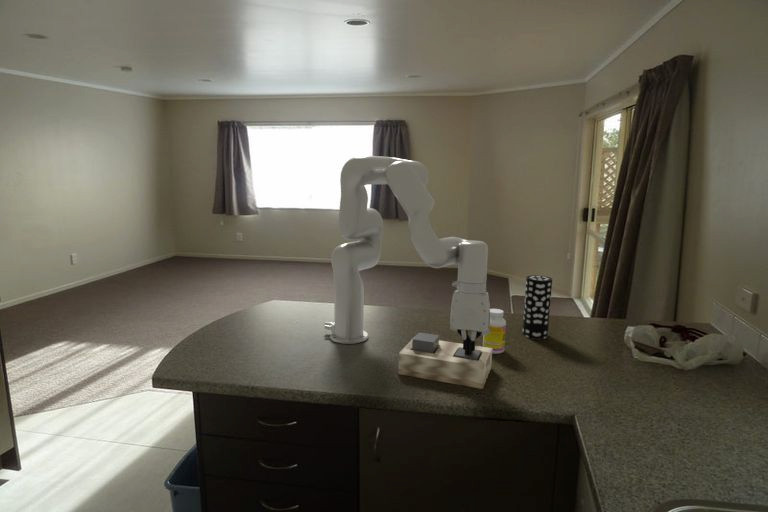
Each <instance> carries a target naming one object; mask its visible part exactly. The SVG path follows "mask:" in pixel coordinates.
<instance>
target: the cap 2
mask: <svg viewBox="0 0 768 512" xmlns="http://www.w3.org/2000/svg"><path fill="white" fill-rule="evenodd" d="M455 357H458V358H464V359H471V360H477V361H479V359H480V357H481V350H475V351H473V352H472V354H471V355H469V354H465V350H463V348H461V347H459V349H458V351H457V352H456V354H455Z"/></svg>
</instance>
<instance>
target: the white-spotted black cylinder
mask: <svg viewBox="0 0 768 512" xmlns="http://www.w3.org/2000/svg"><path fill="white" fill-rule="evenodd" d="M552 287H553V278H552V277H549V276H545V275H537V274H536V275H534V274H531V275H527V276H526V278H525V291H524V292H525V293H524V306H523V319H522V335H523V337H526V338H528V339H532V340H545V339H547V338H548V337H549V335H548V334H549V325H550V314H551V313H550V310H551V301H552Z"/></svg>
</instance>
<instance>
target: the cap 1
mask: <svg viewBox="0 0 768 512" xmlns="http://www.w3.org/2000/svg"><path fill="white" fill-rule="evenodd" d="M411 340H412V350H414V351H420V352H427V353H433V354H435V352H436V351H437V350H438V348H439V340H440V335H439V334H433V333H426V332H418V333H416V335H415V336H414V337H412V339H411Z"/></svg>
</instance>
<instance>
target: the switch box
mask: <svg viewBox="0 0 768 512" xmlns="http://www.w3.org/2000/svg"><path fill="white" fill-rule="evenodd" d="M459 347H461V348H463V343H459V342H453V341H446V340H441V339H439V348H438V350H437V351H436V352H435V354H433V353H427V352H420V351H414V350H412V339H411V340H410V341H409V342H408V343H407V344H406V345H405V346H404V347H403V348H402V349H401V350H400V351H399V353H398V370H397V371H398V375H403V376H407V377H408V376H409V377H415V378H419V379H420V378H421V379H425V380H430V381H437V382H442V383H449V384H453V385H459V386H463V387H464V386H465V387H470V388H476V389H481V390H483V389H484V386H485V384H486V381H487V380H488V377H489V375H488V374H490V372H491V370H492V361H493V360H492V359H493V353H492V348H487V347H483V346H481V345H475V350H481V357H480V359H479V361H477V360H471V359H464V358H458V357H455V354H456V352H457V351H458V349H459ZM486 379H487V380H486Z"/></svg>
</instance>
